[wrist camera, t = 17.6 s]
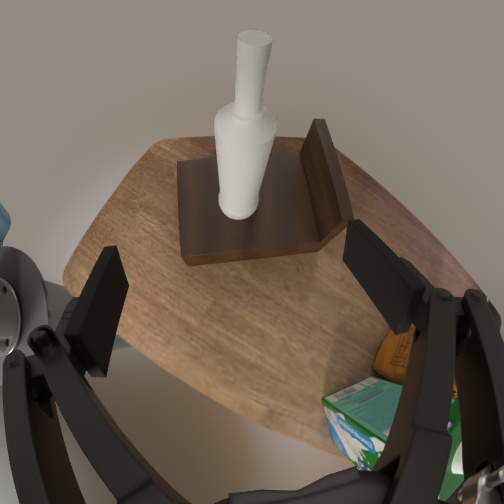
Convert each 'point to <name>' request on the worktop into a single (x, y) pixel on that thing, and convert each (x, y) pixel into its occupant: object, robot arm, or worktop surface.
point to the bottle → (245, 129)
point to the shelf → (266, 206)
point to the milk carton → (381, 426)
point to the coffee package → (397, 357)
